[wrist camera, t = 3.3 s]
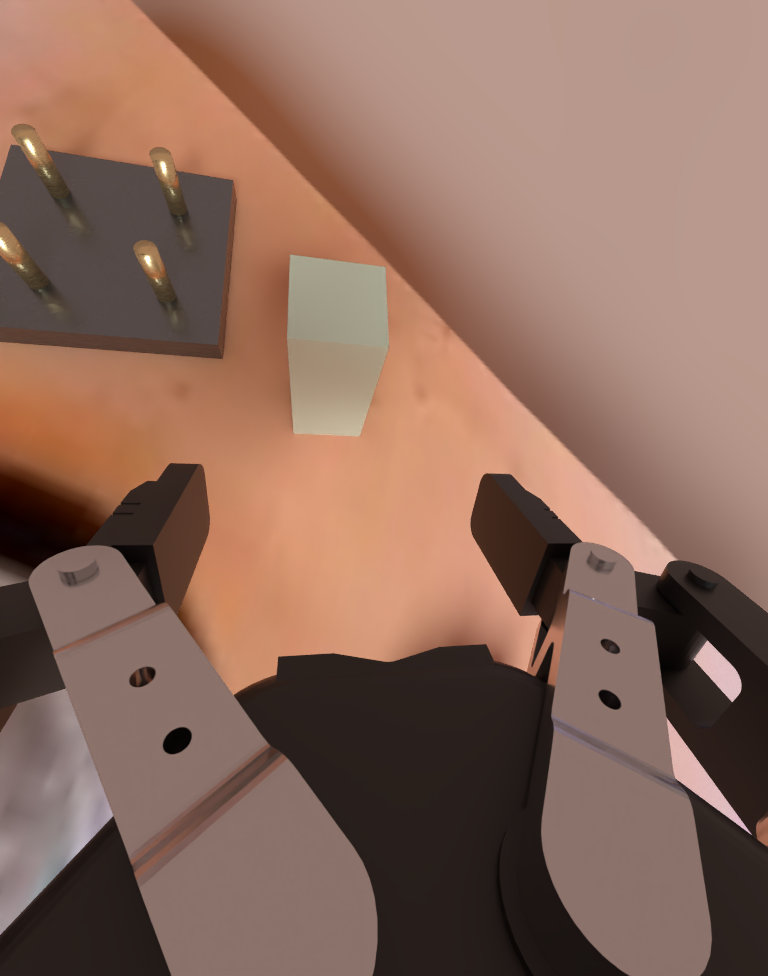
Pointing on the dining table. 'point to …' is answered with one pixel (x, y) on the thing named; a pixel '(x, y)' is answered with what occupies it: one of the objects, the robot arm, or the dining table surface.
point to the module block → (334, 343)
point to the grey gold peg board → (113, 252)
